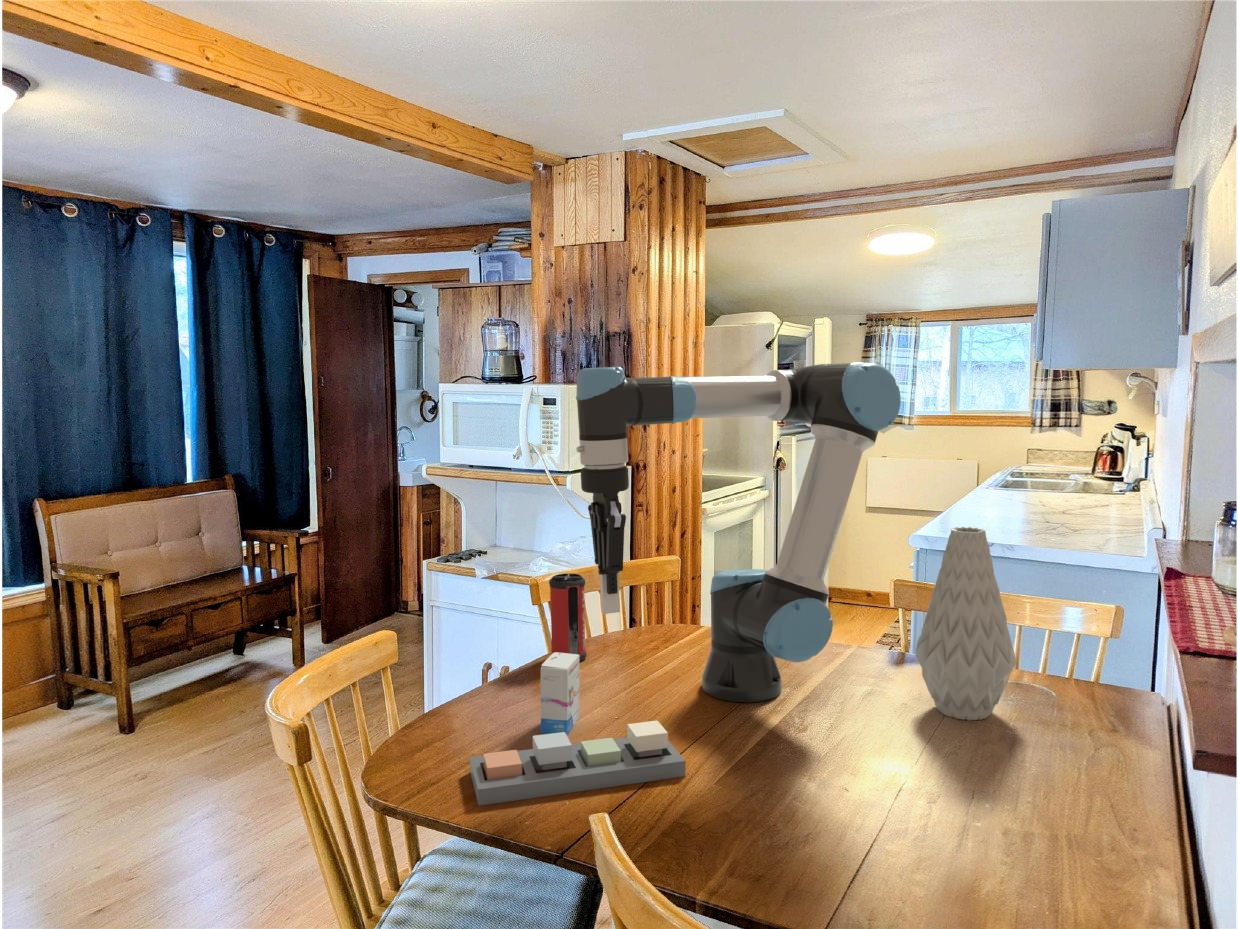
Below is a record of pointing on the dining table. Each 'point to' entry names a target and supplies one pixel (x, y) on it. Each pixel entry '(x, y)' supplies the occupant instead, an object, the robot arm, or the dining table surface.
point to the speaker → (568, 614)
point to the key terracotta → (502, 764)
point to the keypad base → (574, 774)
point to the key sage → (600, 752)
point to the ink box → (559, 693)
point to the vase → (966, 631)
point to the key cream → (647, 738)
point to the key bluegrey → (552, 750)
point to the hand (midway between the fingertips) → (610, 611)
